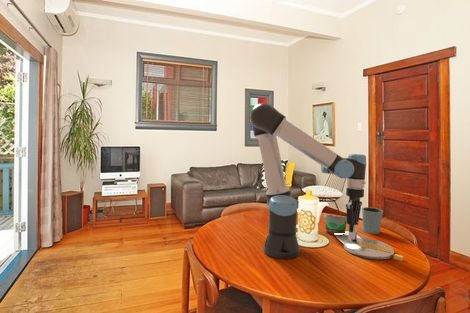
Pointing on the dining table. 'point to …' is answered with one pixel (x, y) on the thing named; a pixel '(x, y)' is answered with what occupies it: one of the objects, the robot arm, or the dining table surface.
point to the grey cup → (371, 220)
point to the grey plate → (368, 248)
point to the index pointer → (398, 257)
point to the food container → (335, 224)
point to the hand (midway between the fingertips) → (351, 238)
